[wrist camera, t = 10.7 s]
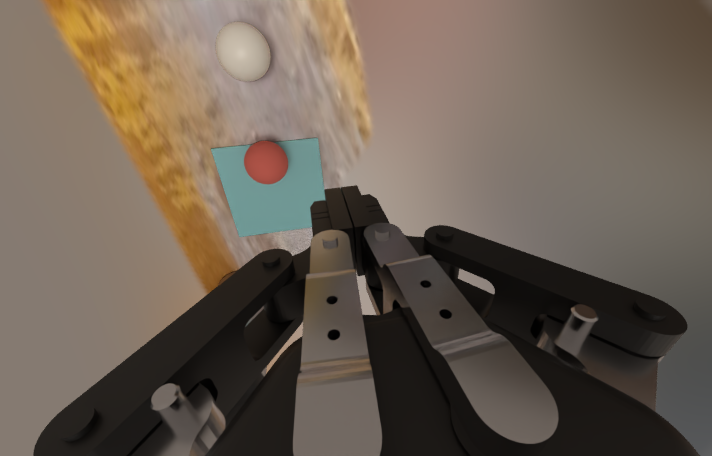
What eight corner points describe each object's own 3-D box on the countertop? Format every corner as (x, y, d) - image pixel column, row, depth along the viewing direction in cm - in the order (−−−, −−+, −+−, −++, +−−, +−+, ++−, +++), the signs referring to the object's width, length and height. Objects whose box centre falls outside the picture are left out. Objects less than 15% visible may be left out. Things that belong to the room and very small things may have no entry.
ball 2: (278, 128, 36) (283, 146, 41) (233, 139, 35) (245, 156, 41) (291, 170, 36) (295, 182, 41) (245, 182, 35) (256, 193, 40)
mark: (328, 224, 48) (328, 224, 48) (239, 236, 46) (239, 237, 46) (317, 137, 40) (317, 138, 40) (211, 148, 39) (210, 149, 38)
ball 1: (254, 3, 28) (263, 30, 34) (198, 19, 28) (216, 43, 33) (274, 63, 30) (280, 80, 35) (221, 79, 29) (235, 93, 35)
